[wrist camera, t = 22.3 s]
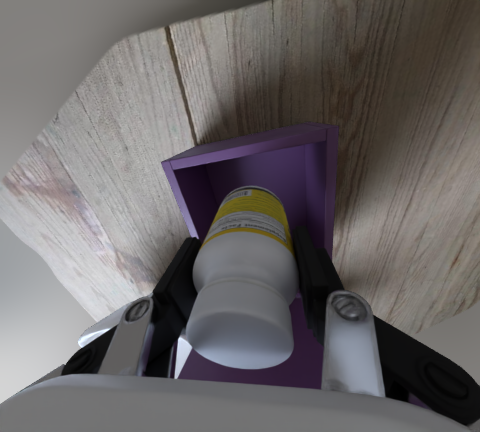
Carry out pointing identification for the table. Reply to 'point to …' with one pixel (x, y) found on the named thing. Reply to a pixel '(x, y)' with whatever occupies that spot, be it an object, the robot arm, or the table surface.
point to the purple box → (262, 177)
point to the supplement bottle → (245, 283)
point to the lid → (284, 374)
